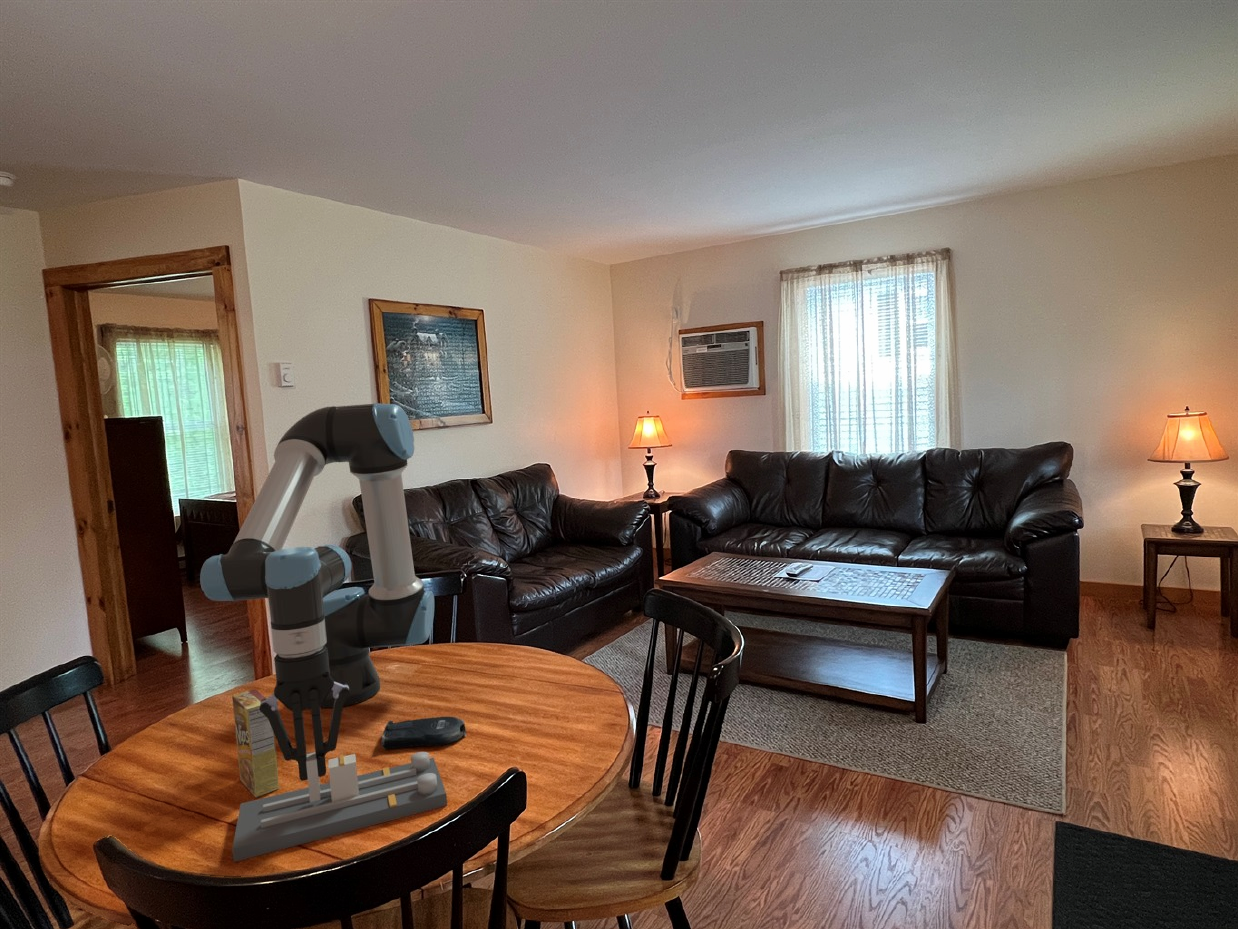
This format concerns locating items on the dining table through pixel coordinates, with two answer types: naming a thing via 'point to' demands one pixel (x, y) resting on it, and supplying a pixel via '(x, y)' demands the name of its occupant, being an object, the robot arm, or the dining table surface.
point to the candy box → (255, 744)
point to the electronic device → (422, 732)
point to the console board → (338, 808)
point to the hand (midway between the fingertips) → (315, 796)
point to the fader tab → (343, 777)
